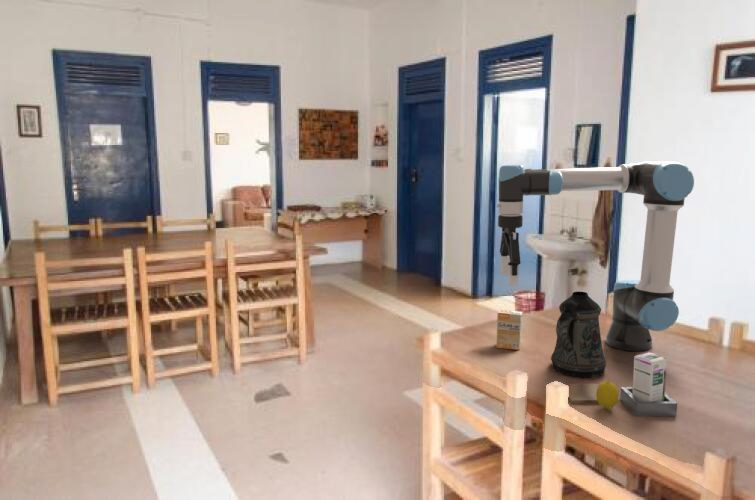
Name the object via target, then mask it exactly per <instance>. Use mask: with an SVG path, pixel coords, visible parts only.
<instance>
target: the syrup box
mask: <svg viewBox="0 0 755 500" xmlns="http://www.w3.org/2000/svg"><path fill="white" fill-rule="evenodd" d="M633 358H634V359H633V374H632V375H633V377H632V378H633V379H632V387H633V395H634V396H635V397H636V398H637V399H638V400H639V401H640V402H659V401H664V395H665V393H666V392H665V391H666V378H667V377H666V375H667V357H665V356H663V355H660V354H658V353H653V352H649V351H648V352H646V353H641V354H637V355H635V356H634V357H633Z"/></svg>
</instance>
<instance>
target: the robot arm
mask: <svg viewBox="0 0 755 500" xmlns="http://www.w3.org/2000/svg"><path fill="white" fill-rule="evenodd" d="M498 173H499V174H498V203H497V204H496V208H498V214H499V215H498V216H497V226H498V227H499V228H500V229H501V239H500V248H499V253H500V276H501V277H506V276H507V277H508V286H510V287H511V286H512V287H513V286H519V267H520V265H521V253H520V251H521V250H520V241H519V236H520V234H519V232H517V230H516V229H519V228H522V227H523V220H524V218H523V215H522V214H523V213H524V196H554V195H555V196H556V195H559V194H560V193H561V192H579V191H580V192H581V191H582V192H583V191H584V192H585V191H586V192H588V191H617V192H619V193H621V194H624V193H625V194H626V193H629V194H637V195H640V196H641V195H642V196H643V205H644V206H645V207H646V208H647V214H646V223H645V231H644V241H643V243H644V244H643V251H642V261H641V271H640V280H634V279H631V280H630V279H627V280H626V279H624V280H618V281H616V282H615V283H614V286H613V287H614V288H613V299H612V320H611V322H610V325H609V328H608V330H607V332H606V335H605V343H606V344H607V345H609V346H610V347H613V348H615V349H618V350H624V351H633V352H639V351H640V352H642V351H649V350H650V349H652V347H653V339H652V335H651V331H652V332H662V331H665V330H668V329H670V328H671V327H672V326H673V325H675V323H676V322H677V320H678V317H679V315H680V310H679V306H678V305H677V303H676V302H675V301H674V294H675V289H674V288H673V287H672V285H670V283H671V273H672V266H673V265H672V264H673V255H674V248H675V247H674V246H675V238H676V229H677V220H678V219H677V218H678V212H679V210H680V209H681V208H683V207H684V205H685V199H686V198H687V197H688V196H689V195H690V194H691V193H692V191H693V190H694V187H695V186H694V185H695V179H694V174H693V173H692V170H690V168H689V167H688V166H686V165H685V164H684V163H681V162H676V161H671V160H668V161H665V160H664V161H663V160H647V161H642V162H636V163H623V164H620V165H618V166H617V167H614V166H613V167H589V168H588V167H584V168H583V167H581V168H579V167H578V168H575V167H574V168H543V169H542V168H541V169H540V168H539V169H535V168H534V169H532V168H526V169H525V168H524V165H519V164H518V165H517V164H516V165H512V164H510V165H509V164H508V165H507V164H506V165H501V167H500V168H499V171H498Z"/></svg>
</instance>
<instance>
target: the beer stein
mask: <svg viewBox="0 0 755 500" xmlns="http://www.w3.org/2000/svg"><path fill="white" fill-rule="evenodd" d="M558 309H559V312H560V315H559V318H558V320H557V322H556V325H555V327H556V328H555V332H556V342H555V346H554V350H553V352H552V354H551V357H550V360H551V364H552V369H553V370H554V371H555V372H556V373H558V374H560V375H563V376H566V377H570V378H575V379H580V380H581V379H582V380H584V379H596V378H600V377H602V376H603V374H605V371H606V366H607V359H606V356H605V352H604V349H603V342H602V337H601V327H600V320H599V319H600V318H599V317H600V315H601V311H602V308H601V306H600V304H598V303H597V302H596V301H595V300H593V299H592V297H590V296H589V294H588V292H585V291H573V292H572V294H571V295H570V296H569V297H568V298H566V299H565V300H564V301H562V302H561V303H560V304H559V306H558Z"/></svg>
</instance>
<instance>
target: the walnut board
mask: <svg viewBox="0 0 755 500" xmlns="http://www.w3.org/2000/svg"><path fill="white" fill-rule="evenodd" d="M565 384H566V385H568V386H569V399H568V401H569V402H570V403H571V405H573V404H576V405H577V404H578V405H581V404H582V405H583V404H585V405H587V404H589V405H590V404H597V405H600V404H599V403H598V401H597V398H596V392H597V388H598V386H599V385H600V384H599V383H565Z"/></svg>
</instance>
